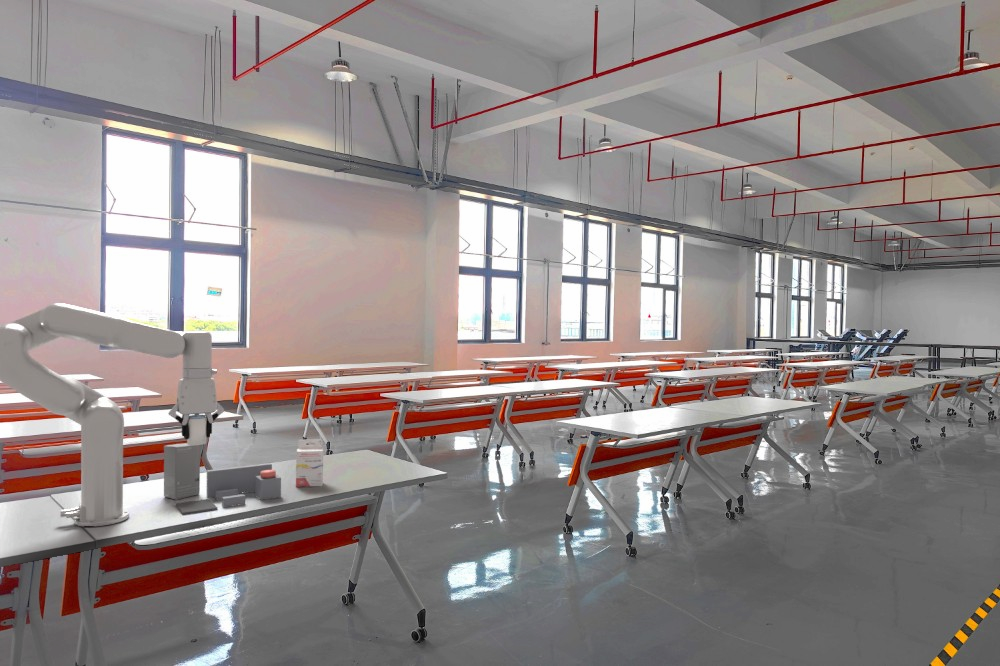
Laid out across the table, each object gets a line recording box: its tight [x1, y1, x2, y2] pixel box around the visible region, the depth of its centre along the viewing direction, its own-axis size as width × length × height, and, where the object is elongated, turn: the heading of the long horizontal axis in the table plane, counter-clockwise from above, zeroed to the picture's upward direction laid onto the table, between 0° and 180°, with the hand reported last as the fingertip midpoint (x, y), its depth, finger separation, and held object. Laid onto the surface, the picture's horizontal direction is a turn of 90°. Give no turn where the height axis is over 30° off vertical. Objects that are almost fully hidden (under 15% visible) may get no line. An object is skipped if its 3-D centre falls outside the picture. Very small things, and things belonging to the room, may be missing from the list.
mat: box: [175, 498, 218, 516], centre depth 186 cm, size 9×11×1 cm
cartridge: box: [186, 414, 208, 446], centre depth 186 cm, size 5×5×8 cm
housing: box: [206, 462, 282, 508], centre depth 197 cm, size 19×15×8 cm
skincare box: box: [163, 442, 201, 501], centre depth 198 cm, size 8×7×16 cm
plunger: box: [261, 469, 277, 479], centre depth 199 cm, size 4×4×6 cm
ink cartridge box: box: [295, 438, 324, 488], centre depth 213 cm, size 9×5×15 cm, turn 105°
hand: (196, 436), depth 186 cm, fingers closed on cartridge, 5 cm apart
